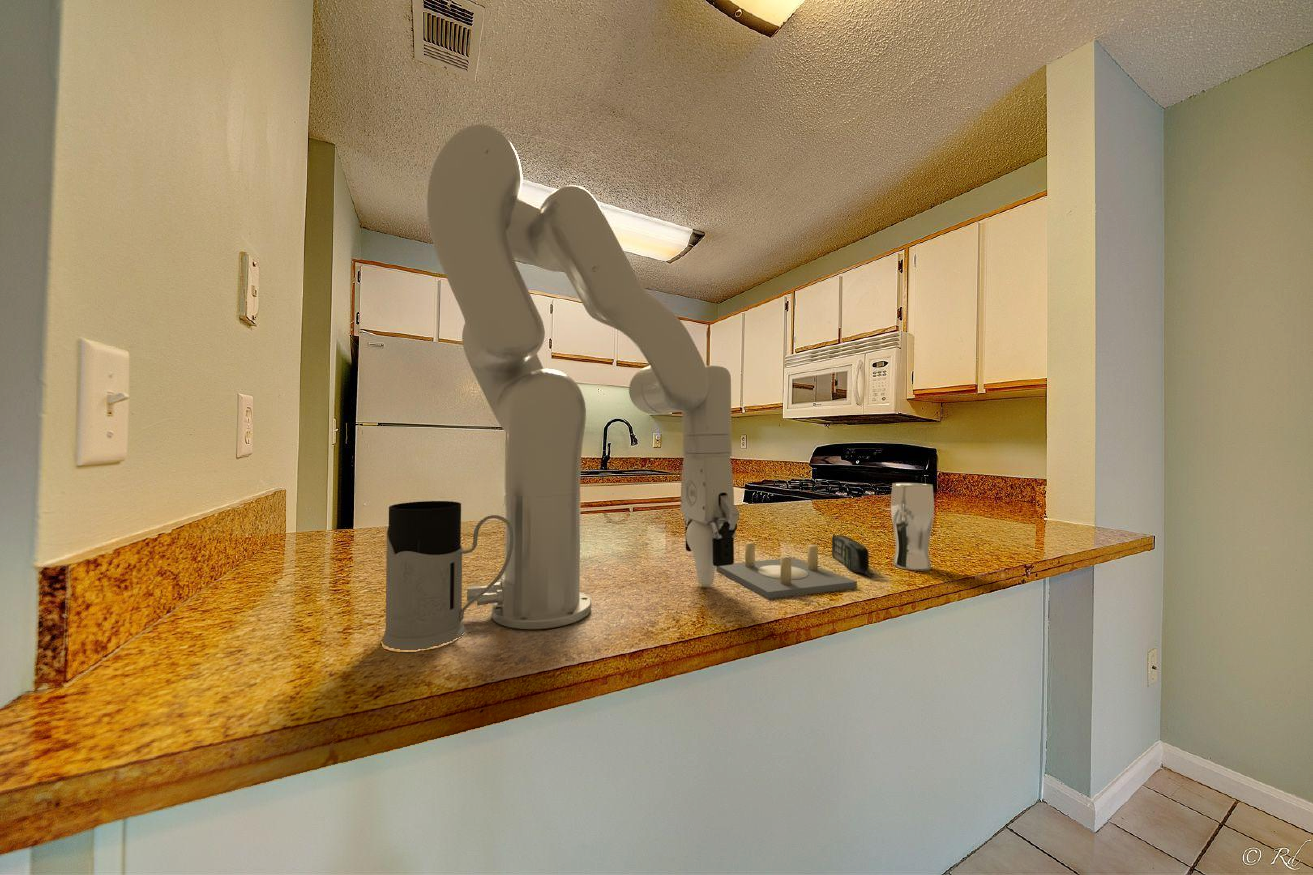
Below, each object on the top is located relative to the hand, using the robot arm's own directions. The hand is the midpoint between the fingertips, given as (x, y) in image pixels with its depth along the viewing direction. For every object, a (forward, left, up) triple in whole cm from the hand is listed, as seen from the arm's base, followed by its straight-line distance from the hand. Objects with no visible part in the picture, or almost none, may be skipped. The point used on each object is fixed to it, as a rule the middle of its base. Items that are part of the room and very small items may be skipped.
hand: (708, 557), depth 74 cm
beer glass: (+40, -1, -5) cm, 41 cm away
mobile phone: (+30, +3, -5) cm, 31 cm away
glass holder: (-37, -7, -5) cm, 37 cm away
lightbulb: (-1, 0, -5) cm, 5 cm away
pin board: (+13, 0, -5) cm, 14 cm away
